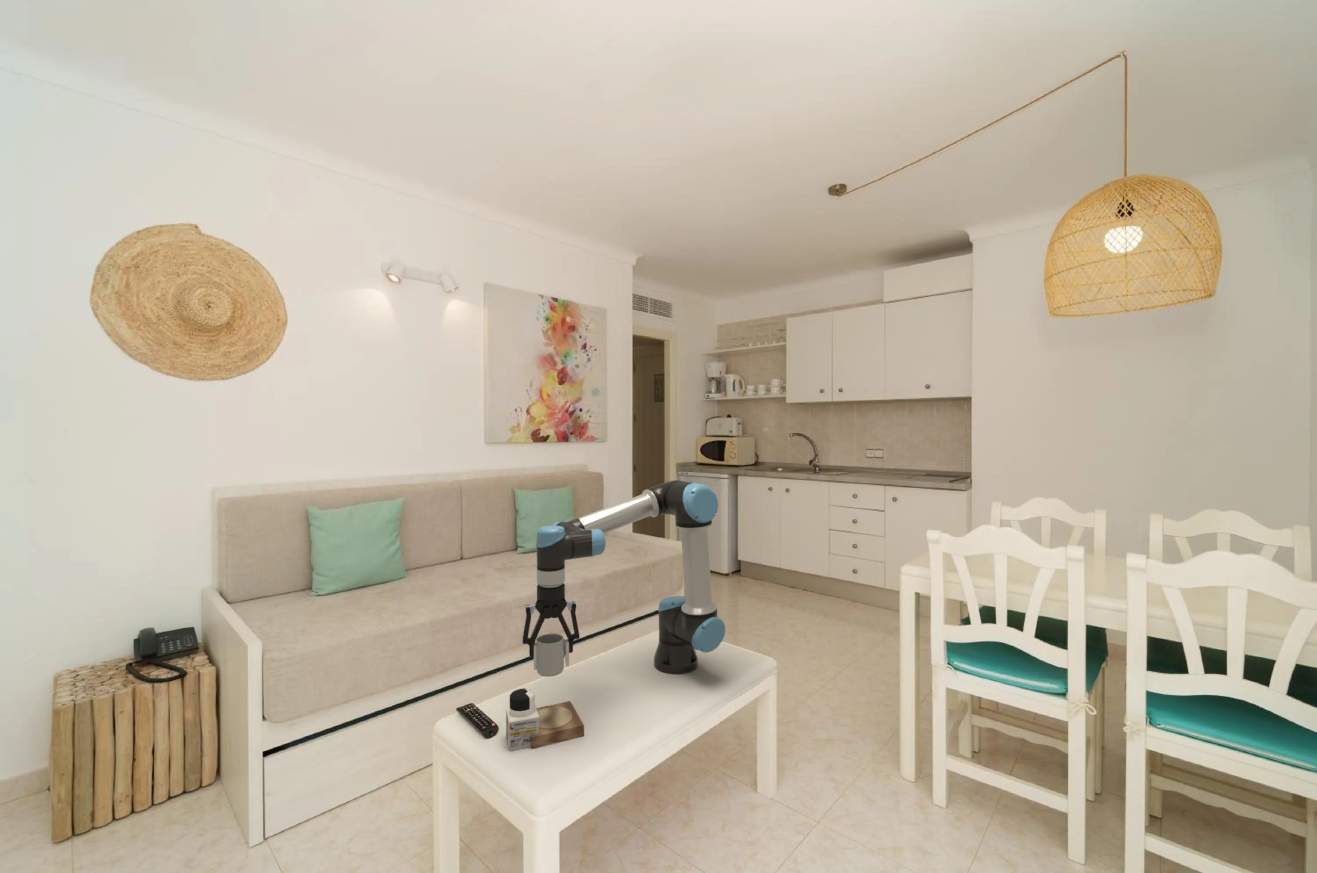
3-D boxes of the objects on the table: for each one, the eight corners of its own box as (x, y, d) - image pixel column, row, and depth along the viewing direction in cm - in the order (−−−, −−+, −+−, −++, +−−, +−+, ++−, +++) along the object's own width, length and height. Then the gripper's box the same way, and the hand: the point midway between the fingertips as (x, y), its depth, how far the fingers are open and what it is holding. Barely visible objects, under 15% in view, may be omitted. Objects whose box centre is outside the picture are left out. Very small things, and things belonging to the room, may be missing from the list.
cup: (531, 673, 150) (530, 640, 150) (555, 659, 159) (555, 628, 159) (551, 679, 147) (551, 646, 146) (575, 664, 155) (575, 633, 155)
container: (508, 751, 142) (508, 700, 142) (506, 736, 150) (505, 688, 150) (539, 745, 145) (539, 695, 145) (535, 731, 152) (535, 683, 152)
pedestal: (570, 711, 162) (570, 699, 162) (584, 735, 149) (583, 723, 149) (521, 722, 156) (521, 710, 156) (531, 748, 143) (531, 736, 143)
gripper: (587, 577, 158) (587, 656, 159) (511, 582, 153) (512, 664, 154) (590, 584, 151) (590, 667, 151) (511, 590, 146) (512, 676, 146)
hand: (551, 665), depth 152 cm, fingers closed on cup, 8 cm apart
